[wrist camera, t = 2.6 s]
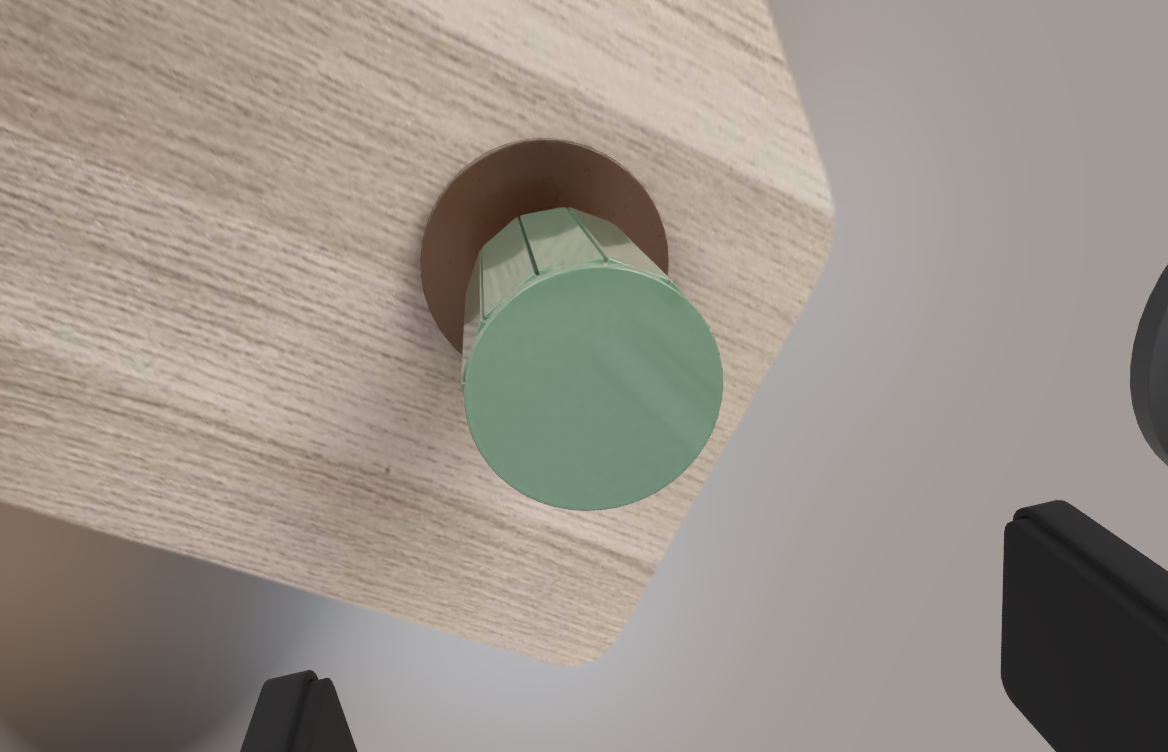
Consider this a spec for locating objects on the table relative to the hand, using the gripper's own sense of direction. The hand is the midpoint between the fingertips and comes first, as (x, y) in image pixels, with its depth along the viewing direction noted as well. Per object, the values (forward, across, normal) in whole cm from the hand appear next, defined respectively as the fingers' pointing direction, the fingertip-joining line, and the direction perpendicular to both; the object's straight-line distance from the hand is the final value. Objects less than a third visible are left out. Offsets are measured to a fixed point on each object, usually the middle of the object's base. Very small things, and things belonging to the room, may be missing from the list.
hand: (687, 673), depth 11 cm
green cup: (+21, 0, 0) cm, 21 cm away
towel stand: (+27, 0, 0) cm, 27 cm away
